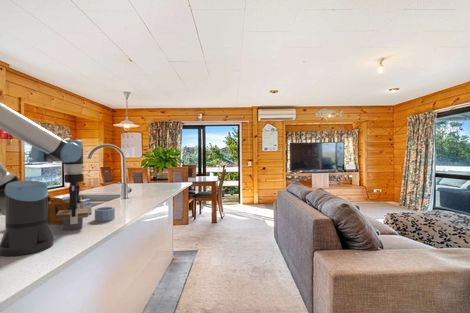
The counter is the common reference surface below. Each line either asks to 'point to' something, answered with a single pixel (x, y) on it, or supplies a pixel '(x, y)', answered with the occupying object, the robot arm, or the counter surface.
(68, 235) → the counter surface
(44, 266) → the counter surface
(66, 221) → the grey block
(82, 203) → the medicine box
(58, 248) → the counter surface
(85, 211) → the walnut board
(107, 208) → the bowl
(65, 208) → the coffee package
